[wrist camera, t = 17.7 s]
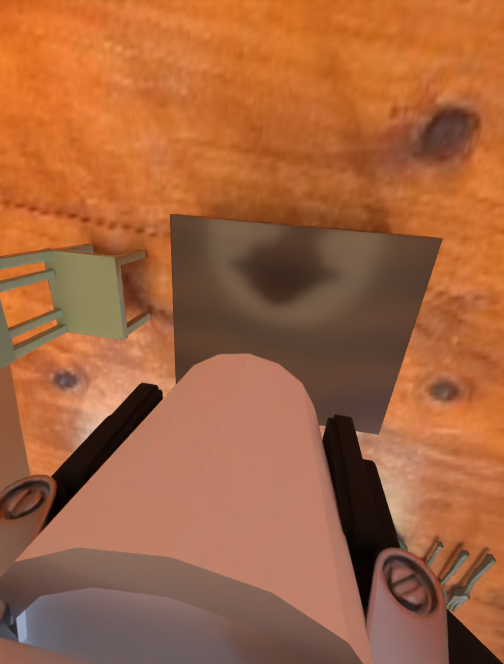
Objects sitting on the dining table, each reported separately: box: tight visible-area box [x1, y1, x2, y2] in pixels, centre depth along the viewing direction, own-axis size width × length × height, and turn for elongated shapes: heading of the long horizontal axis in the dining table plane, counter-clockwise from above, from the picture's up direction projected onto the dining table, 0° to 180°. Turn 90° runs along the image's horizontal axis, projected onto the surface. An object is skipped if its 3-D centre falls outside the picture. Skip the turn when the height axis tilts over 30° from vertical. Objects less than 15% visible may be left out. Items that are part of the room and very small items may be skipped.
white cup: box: [0, 354, 374, 664], centre depth 8 cm, size 7×7×7 cm
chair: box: [0, 244, 150, 369], centre depth 26 cm, size 8×7×14 cm
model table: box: [170, 214, 442, 435], centre depth 26 cm, size 16×18×9 cm
